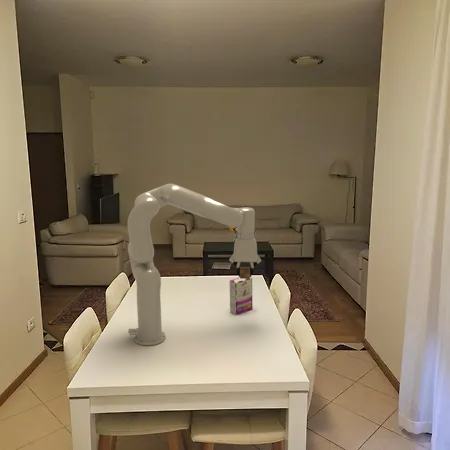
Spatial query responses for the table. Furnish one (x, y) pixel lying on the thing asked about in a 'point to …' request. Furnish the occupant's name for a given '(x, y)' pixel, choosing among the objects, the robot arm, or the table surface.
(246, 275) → the walnut block
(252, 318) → the table surface
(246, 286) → the candy bar box
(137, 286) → the robot arm
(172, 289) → the table surface
